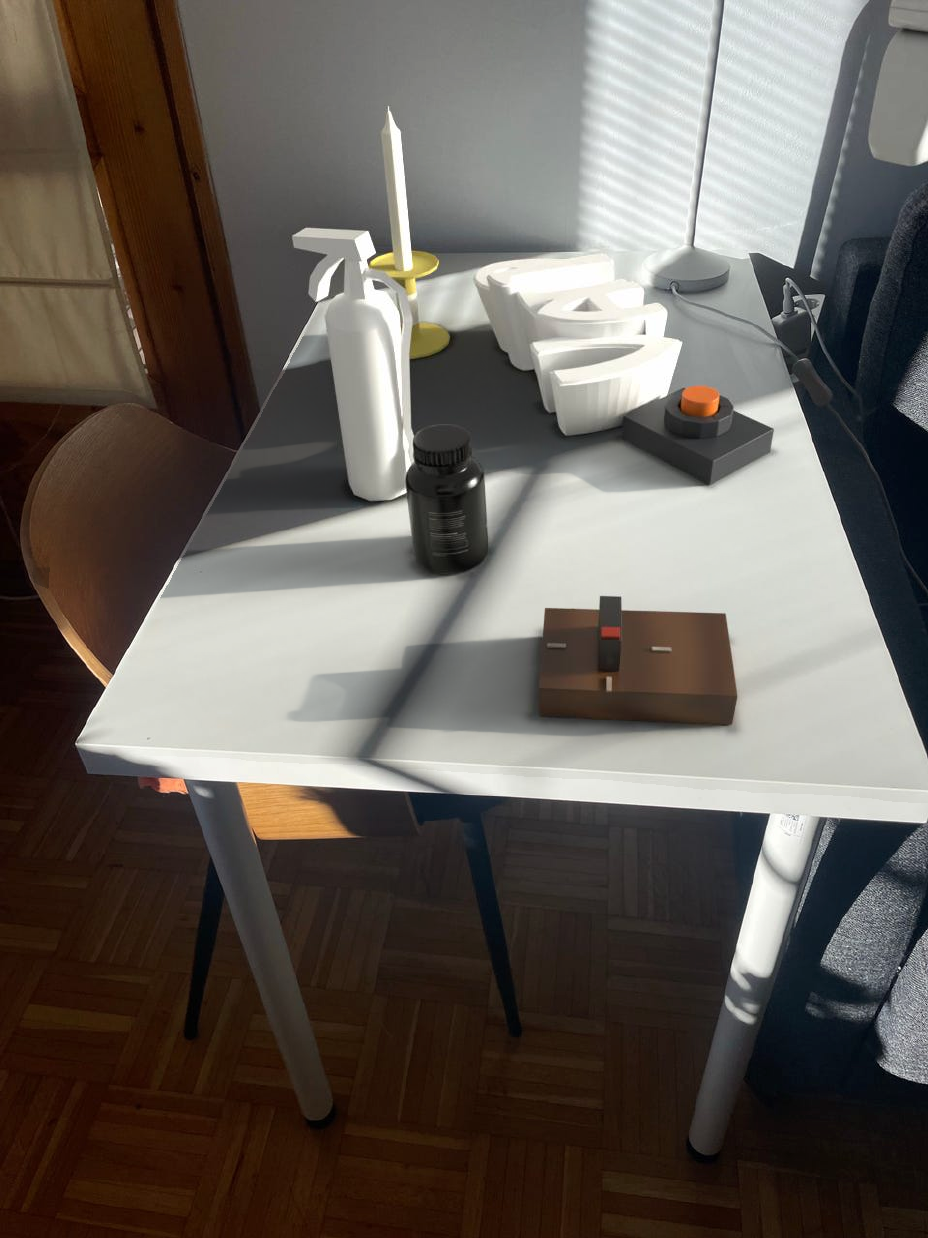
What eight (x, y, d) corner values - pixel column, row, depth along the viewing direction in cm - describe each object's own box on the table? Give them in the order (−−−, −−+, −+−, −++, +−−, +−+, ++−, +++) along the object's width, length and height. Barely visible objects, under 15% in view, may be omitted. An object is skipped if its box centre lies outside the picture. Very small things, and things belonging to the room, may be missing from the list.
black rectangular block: (598, 625, 74) (600, 593, 72) (619, 626, 74) (621, 593, 71) (597, 670, 70) (599, 637, 68) (619, 671, 70) (622, 638, 68)
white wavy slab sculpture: (697, 439, 99) (708, 343, 92) (544, 465, 97) (544, 368, 90) (591, 308, 125) (594, 226, 118) (468, 326, 123) (464, 243, 116)
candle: (372, 362, 117) (341, 121, 99) (370, 328, 125) (341, 98, 107) (453, 354, 117) (437, 113, 100) (446, 321, 125) (430, 91, 107)
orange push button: (725, 409, 96) (727, 394, 94) (700, 422, 94) (702, 406, 93) (697, 397, 98) (699, 381, 97) (673, 409, 96) (674, 393, 95)
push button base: (770, 452, 97) (777, 412, 94) (709, 485, 93) (715, 444, 90) (681, 409, 104) (685, 371, 101) (621, 438, 100) (624, 399, 97)
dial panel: (721, 640, 76) (725, 610, 74) (732, 726, 69) (738, 695, 67) (544, 634, 78) (544, 605, 76) (539, 717, 71) (538, 687, 69)
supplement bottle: (502, 544, 87) (498, 428, 80) (463, 586, 83) (454, 467, 75) (440, 524, 90) (430, 410, 83) (398, 563, 86) (384, 447, 78)
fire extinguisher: (420, 520, 91) (393, 257, 75) (320, 488, 96) (275, 235, 80) (457, 485, 95) (440, 229, 79) (360, 456, 100) (325, 210, 84)
